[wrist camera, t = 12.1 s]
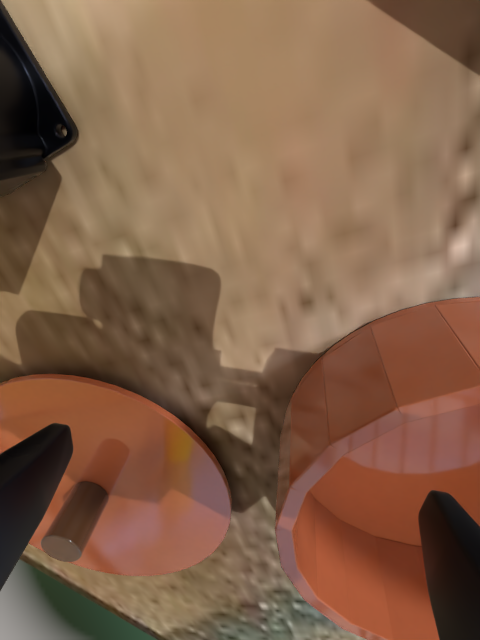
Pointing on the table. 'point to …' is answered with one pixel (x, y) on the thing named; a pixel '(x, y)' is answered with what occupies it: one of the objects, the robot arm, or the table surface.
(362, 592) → the pot
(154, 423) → the lid
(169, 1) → the table surface
